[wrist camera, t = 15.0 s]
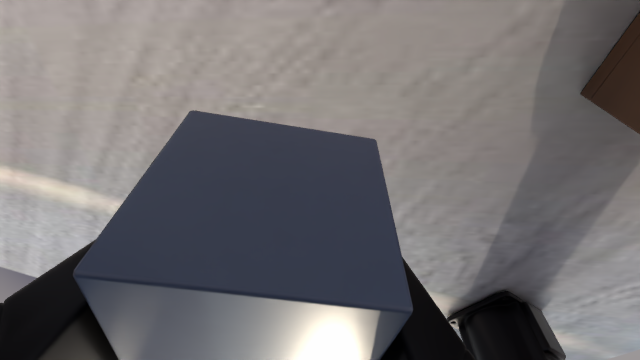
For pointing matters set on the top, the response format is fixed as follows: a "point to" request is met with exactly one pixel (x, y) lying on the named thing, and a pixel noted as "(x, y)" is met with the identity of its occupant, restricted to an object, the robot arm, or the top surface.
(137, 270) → the block
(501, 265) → the top surface
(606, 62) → the chest
